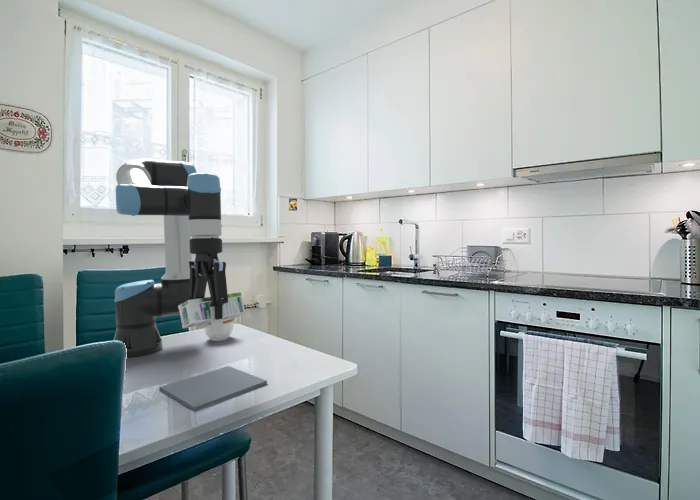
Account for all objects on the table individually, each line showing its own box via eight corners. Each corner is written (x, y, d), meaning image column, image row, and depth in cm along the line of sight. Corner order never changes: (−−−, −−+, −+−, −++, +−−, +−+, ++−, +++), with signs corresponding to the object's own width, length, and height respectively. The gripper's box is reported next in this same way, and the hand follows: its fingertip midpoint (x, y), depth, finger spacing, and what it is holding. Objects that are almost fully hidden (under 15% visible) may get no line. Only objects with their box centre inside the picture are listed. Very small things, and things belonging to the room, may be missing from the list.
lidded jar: (240, 336, 142) (239, 312, 142) (219, 344, 133) (218, 317, 132) (219, 334, 147) (218, 310, 147) (197, 341, 137) (196, 315, 137)
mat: (159, 390, 93) (159, 386, 93) (228, 368, 107) (228, 365, 107) (194, 411, 81) (194, 407, 81) (266, 383, 95) (266, 380, 95)
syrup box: (246, 313, 97) (191, 323, 86) (234, 318, 100) (181, 329, 89) (241, 291, 98) (187, 299, 87) (230, 297, 102) (176, 306, 91)
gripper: (242, 236, 89) (245, 332, 89) (200, 237, 102) (203, 322, 102) (212, 237, 83) (216, 339, 84) (172, 238, 96) (175, 327, 97)
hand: (209, 329), depth 93 cm, fingers closed on syrup box, 7 cm apart
